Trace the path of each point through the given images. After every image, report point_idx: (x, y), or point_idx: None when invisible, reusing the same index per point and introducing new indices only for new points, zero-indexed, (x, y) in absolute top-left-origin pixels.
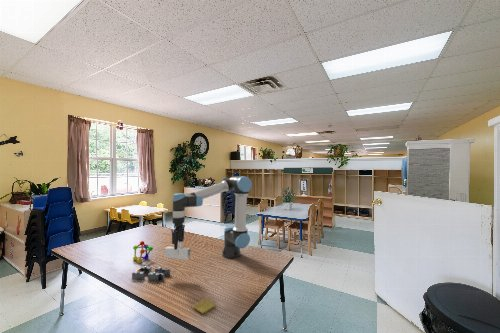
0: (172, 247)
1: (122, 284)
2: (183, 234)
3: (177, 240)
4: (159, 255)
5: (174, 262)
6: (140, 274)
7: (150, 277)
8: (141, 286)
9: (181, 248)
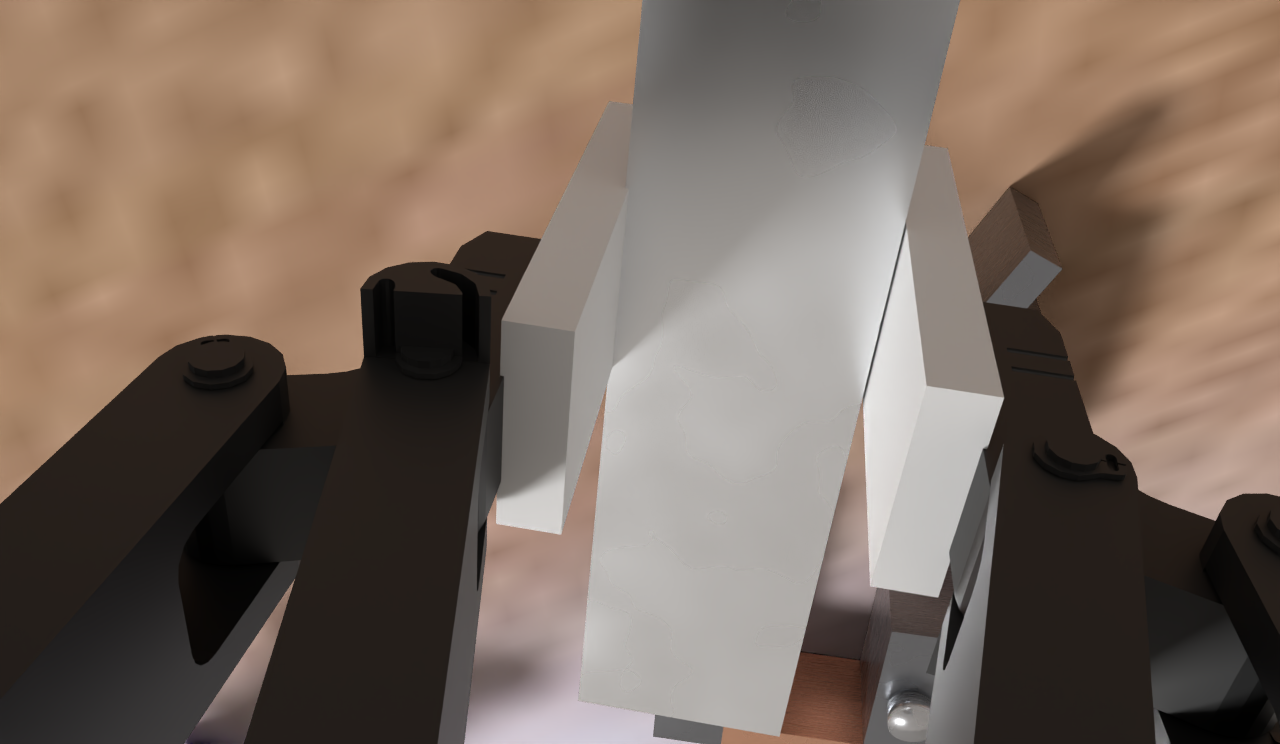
0: (681, 540)
1: None
2: (36, 582)
3: (1109, 601)
4: None
5: (165, 297)
6: None
7: None
8: (1199, 484)
9: (779, 125)
